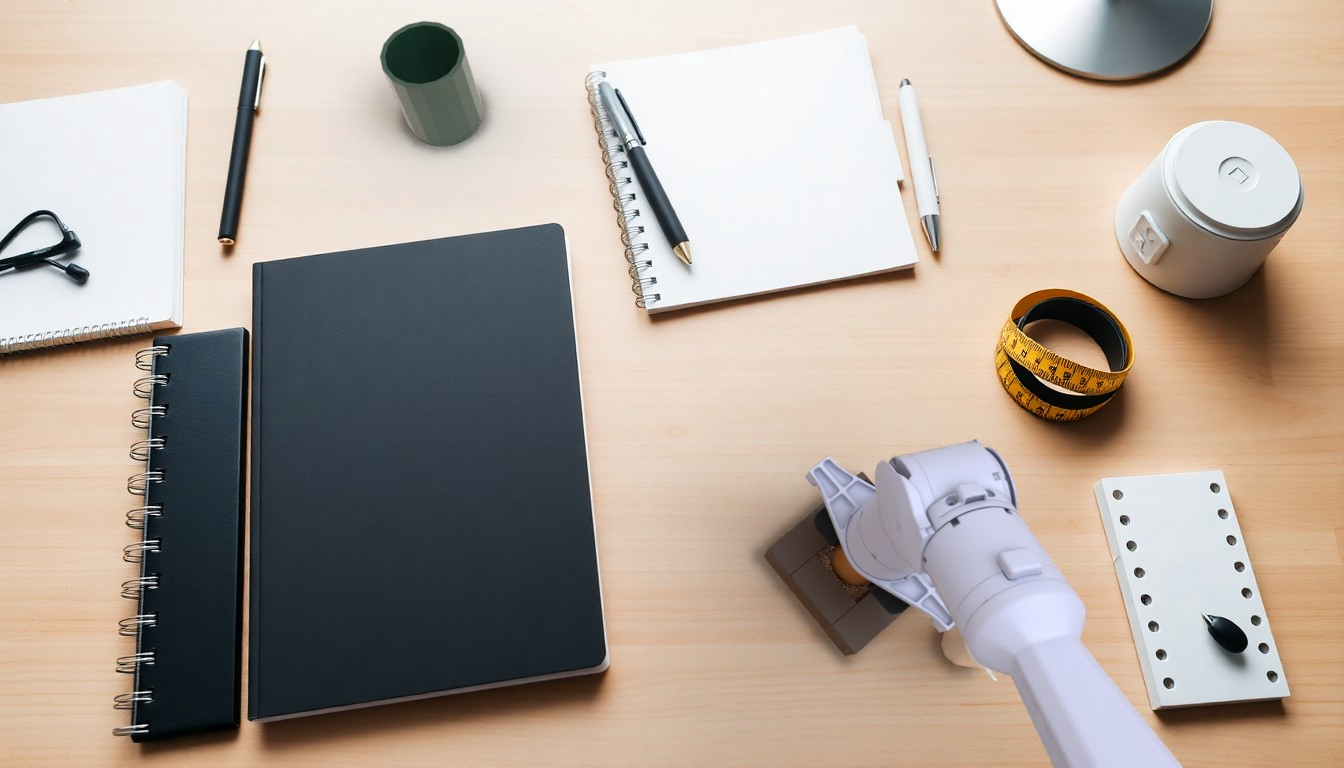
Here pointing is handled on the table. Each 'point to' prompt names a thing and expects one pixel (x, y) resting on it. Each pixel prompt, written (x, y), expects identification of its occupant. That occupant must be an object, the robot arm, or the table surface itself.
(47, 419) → the table surface
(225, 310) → the table surface
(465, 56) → the coffee cup
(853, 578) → the orange cylinder
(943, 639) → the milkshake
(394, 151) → the table surface
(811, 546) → the pod dock
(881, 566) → the robot arm
